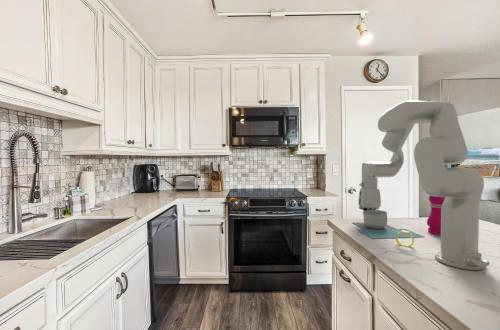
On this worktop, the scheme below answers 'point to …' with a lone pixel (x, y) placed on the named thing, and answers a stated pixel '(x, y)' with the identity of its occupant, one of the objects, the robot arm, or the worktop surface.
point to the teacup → (375, 218)
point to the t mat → (384, 232)
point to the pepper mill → (435, 215)
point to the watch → (404, 233)
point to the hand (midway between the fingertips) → (368, 220)
